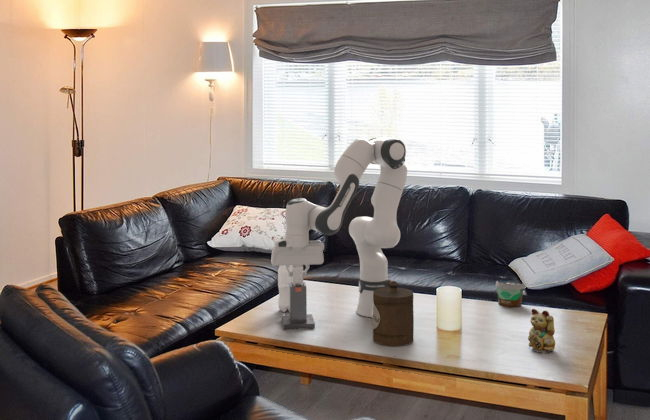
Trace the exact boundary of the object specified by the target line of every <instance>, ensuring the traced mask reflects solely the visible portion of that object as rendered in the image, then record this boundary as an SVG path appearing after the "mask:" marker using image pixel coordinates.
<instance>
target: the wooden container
mask: <svg viewBox="0 0 650 420" xmlns="http://www.w3.org/2000/svg"><path fill="white" fill-rule="evenodd" d="M389 286H390V287H385V288H379V289H376V290H374V292H373V318H372V340H373V342H374V343H376V344H379V345H381V346H384V347H385V346H386V347H404V346H408V345H410V344H411V343H413V342H414V327H415V326H414V325H415V323H414V319H415V318H414V291H413V290H411V289H410V288H409V289H408V288H404V287H399V283H398V282H397V281H395V280H392V281H391V282H390V283H389Z"/></svg>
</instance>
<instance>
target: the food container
mask: <svg viewBox="0 0 650 420" xmlns="http://www.w3.org/2000/svg"><path fill="white" fill-rule="evenodd" d="M495 287H496V290H497V302H498V305H499V306H500V307H503V308H509V309H510V308H511V309H512V308H520V307H521V306H522V301H523V294H524V289H525V288H526V284H525V282H523V283H519V284H518V283H514V282H500V281H498V280H497V281H496V282H495Z"/></svg>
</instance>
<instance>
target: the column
mask: <svg viewBox="0 0 650 420" xmlns="http://www.w3.org/2000/svg"><path fill="white" fill-rule="evenodd" d="M303 271H304V265H292V272H293V274H292V275H293V276H292V286H296V285H297V284H301V286H303V282H304V276H303Z"/></svg>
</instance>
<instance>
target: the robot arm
mask: <svg viewBox="0 0 650 420" xmlns="http://www.w3.org/2000/svg"><path fill="white" fill-rule="evenodd" d="M406 151H407V149H406V145H405V143H404V142H403V141H402V140H401V139H399V138H396V137H388V136H387V137H386V136H384V137H383V136H382V137H374V138H371V139H368V140H367V139H366V138H359V137H358V138H356V139H355V140H354V141H352V142H351V143H350V144H349V145H348V147H346V149H345V150H344V151H343V153H342V154H341V155H340V157H339V159H338V160H337V162H336V164H335V166H334V168H333V170H334V171H333V173H334V176H335V179H336V180H337V182H339V189H338V191H337V193H336V195H335V197H334V199H333V200H332V202H331V204H330V205H329V206H327V207H326V206H322V205H319V204H314V203H312V202H311V201H308V200H307V199H306V198H303V197H298V198H296V197H295V198H293V199H290V200H289V201H288V202H287V204H286V206H285V207H286V208H285V214H284V215H285V219H284V220H285V226H286V230H285V235H283V236H280V237H278V238H275V239H274V242H273V243H274V246H273V247H272V251H271V256H270V257H271V260H270V263H271V265H272V266H274V267H277V266H283V265H286V269H287V271H288V272H289V277H290V276H293V275H292V274H293V272H292V271H290V270H289V268H290V265H303V266H305V269H304V270H303V277H307V276H308V275H307V274H308V273H307V272H308V271H309V269H310V265H311V266H312V265H323V263H324V261H325V258H324V257H325V256H324V253H323V251H324V250H325V243H324V242H323V241H321V240H317V239H316V240H314V239H313V240H310V237H309V234H310V233H309V231H310V230H313V231H315V232H317V233H318V232H319V233H320V234H322V235H324V236H333V235H335V234H337V233H338V232H339V230H340V229H341V228H342V225H343V221H344V217H345V215H346V212H347V211H348V209H349V206H350V205H351V203H352V201H353V199H354V197H355V195H356V194H357V191H358V189H359V186H360V180H361V178H362V176H363V174H364V173H365V171H366V170H367V168H368V166H369V165H370V164H371V165H379V168H380V174H379V176H378V178H377V182H376V183H375V184H376V185H375V187H374V190H373V193H372V195H371V198H370V202H371V205H372V206H373V217H371V216H367V215H366V216H356V217H355V218H353V219H352V220H351V221H350V223H349V225H348V233H349V235H350V237H351V238H352V240H353V242H354V244H355V246H356V250H357V253H358V257H359V279H358V292H359V297H358V303H357V308H356V310H355V313H356V314H357V315H360V316H363V317H366V318H367V317H368V318H371V319H373V292H374V290H376V289H379V288H385V287H390V286H389V283H390V282H391V281H393V280H392V279H390V278H389V277H388V259H387V257H386V256H385V254H384V253H383V250H382V249H391V248H395V246H397V245H398V243H399V242H400V239H401V231H400V228H399V226H398V221H397V212H398V207H399V204H400V201H401V198H402V195H403V191H404V188H405V185H406V181H407V175H408V168H407V166H406V164H404V163H405V161H406V154H407V152H406Z"/></svg>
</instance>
